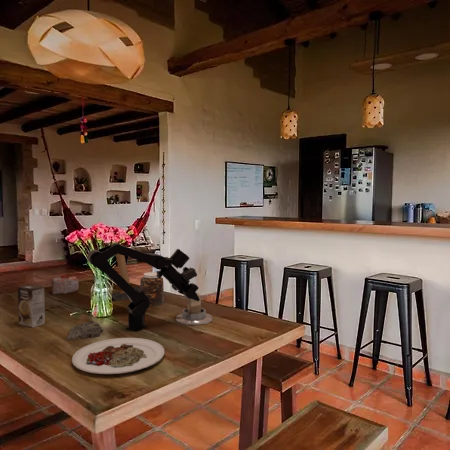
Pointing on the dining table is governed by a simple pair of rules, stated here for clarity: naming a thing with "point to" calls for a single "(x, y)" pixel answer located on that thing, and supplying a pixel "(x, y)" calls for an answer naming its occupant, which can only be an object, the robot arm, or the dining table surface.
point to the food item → (64, 284)
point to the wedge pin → (194, 305)
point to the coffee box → (31, 305)
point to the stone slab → (85, 331)
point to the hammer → (124, 274)
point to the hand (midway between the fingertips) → (197, 299)
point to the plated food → (118, 355)
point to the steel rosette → (194, 318)
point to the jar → (153, 288)
